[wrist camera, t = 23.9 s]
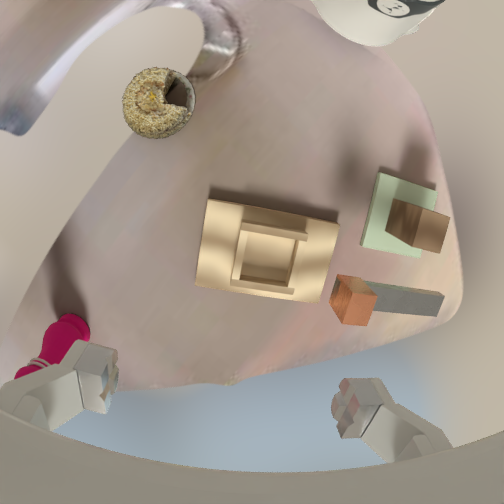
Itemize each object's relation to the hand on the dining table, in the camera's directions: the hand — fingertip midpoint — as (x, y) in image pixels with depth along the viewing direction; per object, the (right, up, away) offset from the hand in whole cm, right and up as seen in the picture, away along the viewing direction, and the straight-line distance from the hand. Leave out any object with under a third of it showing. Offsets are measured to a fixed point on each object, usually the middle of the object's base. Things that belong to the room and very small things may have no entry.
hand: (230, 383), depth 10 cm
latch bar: (+18, -1, +26) cm, 31 cm away
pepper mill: (-29, -8, +36) cm, 47 cm away
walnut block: (+23, +10, +32) cm, 41 cm away
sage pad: (+23, +10, +33) cm, 42 cm away
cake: (-12, +24, +27) cm, 38 cm away
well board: (+3, +5, +34) cm, 34 cm away
